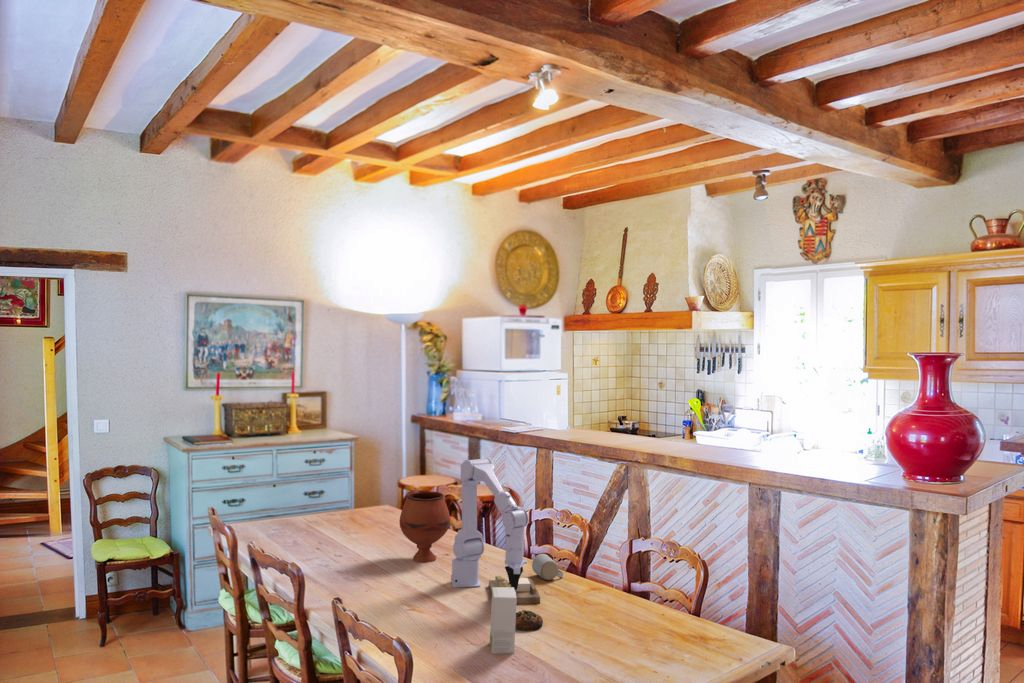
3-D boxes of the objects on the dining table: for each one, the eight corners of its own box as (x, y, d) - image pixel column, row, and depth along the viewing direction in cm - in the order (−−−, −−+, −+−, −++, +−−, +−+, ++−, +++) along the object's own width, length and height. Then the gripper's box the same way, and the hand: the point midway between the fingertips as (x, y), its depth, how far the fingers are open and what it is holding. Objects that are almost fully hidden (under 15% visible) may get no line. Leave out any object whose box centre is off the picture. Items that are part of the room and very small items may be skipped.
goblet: (389, 562, 287) (390, 496, 287) (414, 550, 304) (415, 488, 304) (434, 569, 279) (435, 501, 279) (457, 556, 297) (458, 492, 297)
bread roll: (531, 634, 219) (530, 616, 220) (499, 631, 225) (498, 613, 226) (550, 624, 229) (549, 607, 229) (519, 621, 235) (518, 604, 235)
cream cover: (508, 591, 251) (509, 583, 251) (506, 585, 256) (507, 578, 256) (529, 591, 251) (530, 583, 251) (527, 585, 257) (527, 578, 257)
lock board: (493, 604, 244) (494, 593, 244) (488, 586, 262) (489, 576, 262) (540, 603, 246) (540, 592, 246) (531, 585, 264) (532, 575, 264)
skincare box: (489, 642, 213) (491, 586, 213) (513, 642, 213) (514, 586, 213) (491, 654, 205) (492, 596, 205) (515, 654, 205) (517, 596, 205)
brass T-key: (494, 590, 250) (495, 576, 250) (499, 589, 251) (500, 575, 251) (508, 602, 239) (508, 587, 239) (513, 601, 240) (513, 586, 240)
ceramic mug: (540, 582, 268) (541, 560, 268) (531, 575, 275) (532, 554, 275) (567, 579, 272) (568, 558, 272) (557, 573, 279) (558, 552, 279)
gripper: (530, 553, 237) (529, 597, 238) (523, 540, 252) (522, 581, 252) (507, 554, 237) (506, 597, 237) (502, 541, 251) (501, 582, 251)
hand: (513, 589), depth 244 cm, fingers closed, pressing on brass T-key
